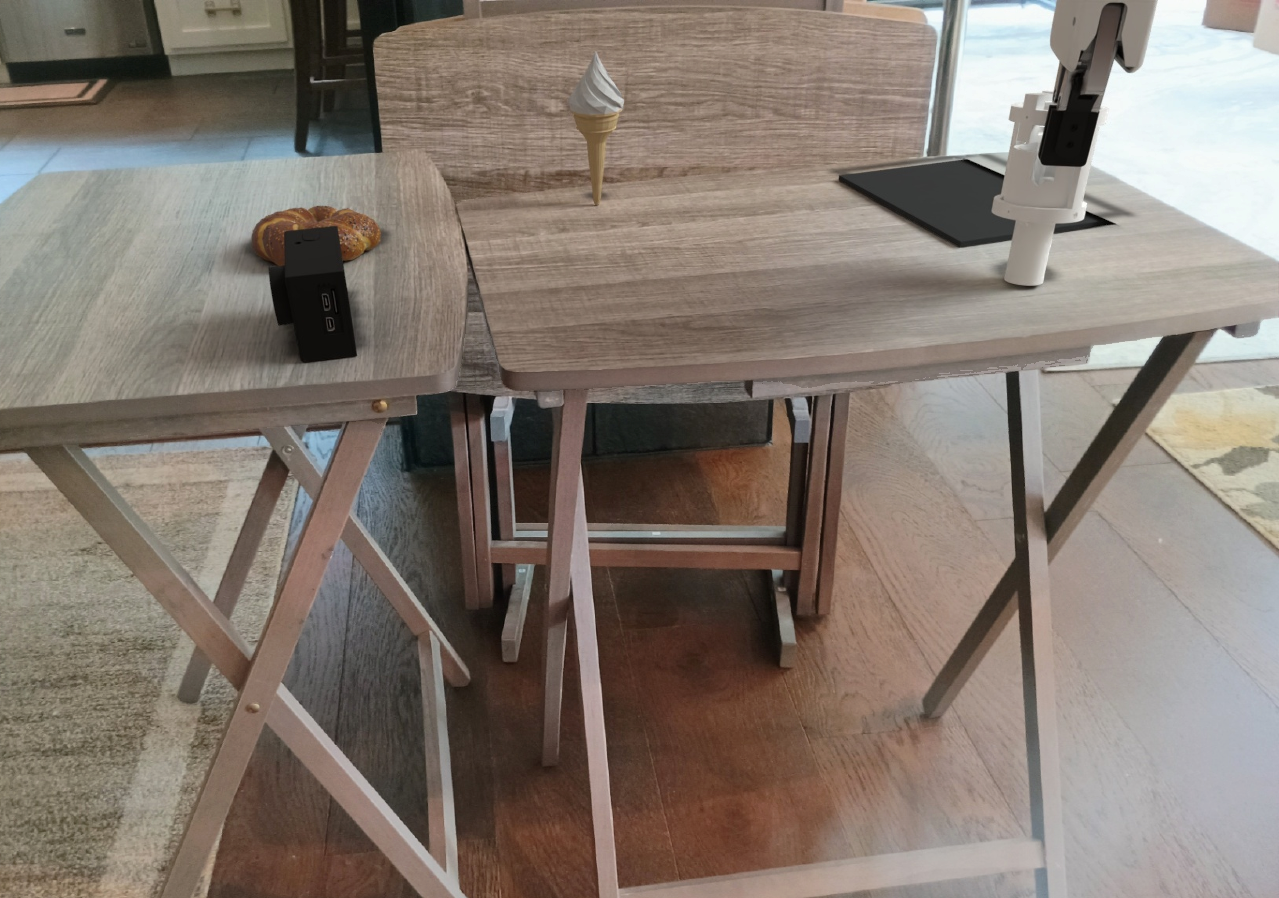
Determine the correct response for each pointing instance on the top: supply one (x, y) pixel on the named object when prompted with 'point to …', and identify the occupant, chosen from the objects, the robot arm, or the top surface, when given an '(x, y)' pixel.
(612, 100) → the ice cream cone
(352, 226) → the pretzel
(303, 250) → the digital camera
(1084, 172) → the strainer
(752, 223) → the top surface
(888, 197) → the mat
